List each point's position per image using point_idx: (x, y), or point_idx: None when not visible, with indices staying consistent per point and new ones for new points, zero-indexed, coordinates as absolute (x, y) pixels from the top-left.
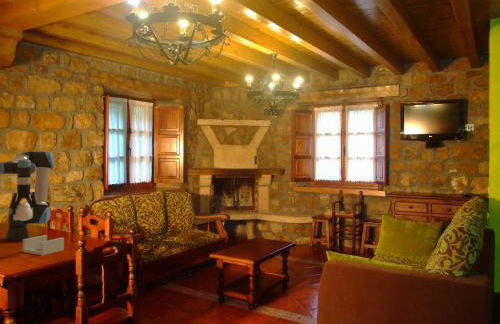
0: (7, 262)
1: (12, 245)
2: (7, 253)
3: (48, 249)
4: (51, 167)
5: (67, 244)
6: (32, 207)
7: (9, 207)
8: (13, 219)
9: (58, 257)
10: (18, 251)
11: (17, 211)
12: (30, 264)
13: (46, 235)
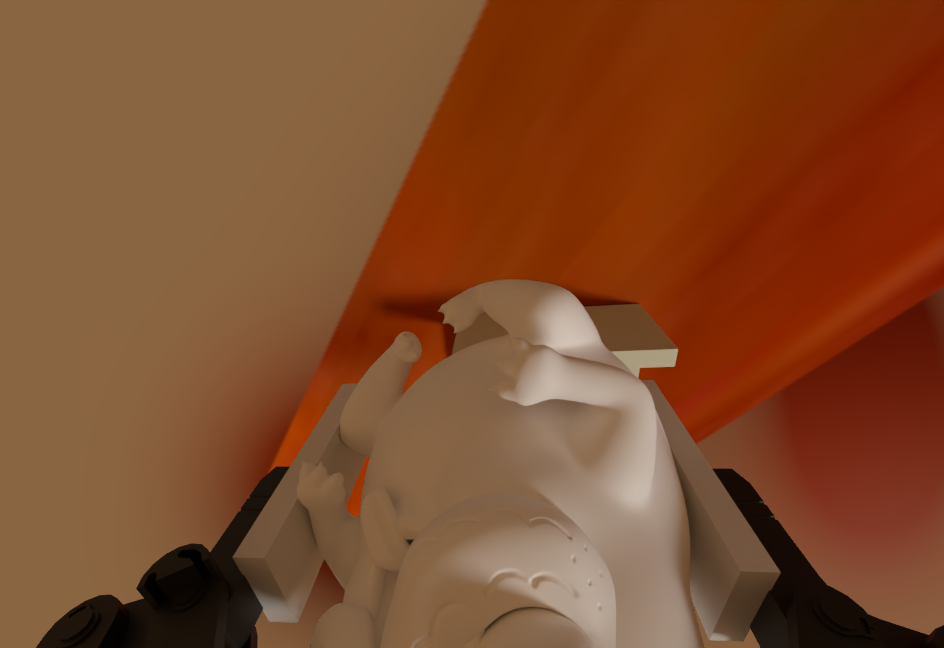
0: (303, 427)
1: (562, 9)
2: (383, 268)
3: None
4: None
5: (769, 356)
6: (765, 634)
7: (54, 638)
8: (342, 390)
9: None
10: (455, 275)
11: (328, 560)
12: (358, 508)
13: (668, 365)
